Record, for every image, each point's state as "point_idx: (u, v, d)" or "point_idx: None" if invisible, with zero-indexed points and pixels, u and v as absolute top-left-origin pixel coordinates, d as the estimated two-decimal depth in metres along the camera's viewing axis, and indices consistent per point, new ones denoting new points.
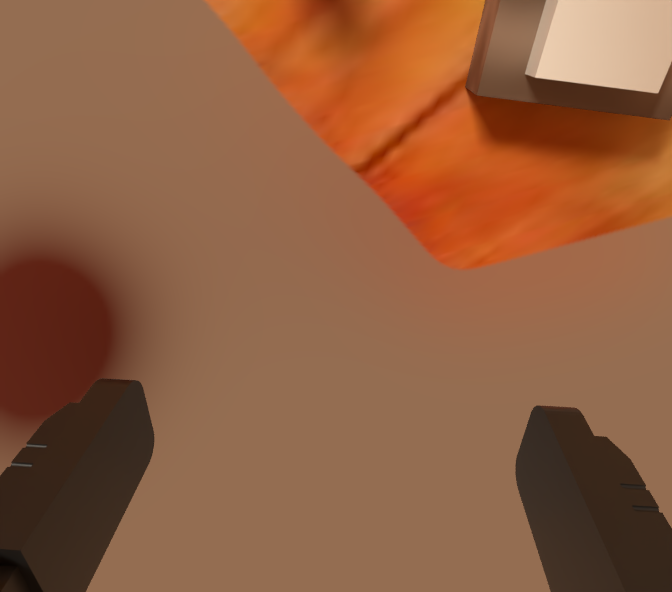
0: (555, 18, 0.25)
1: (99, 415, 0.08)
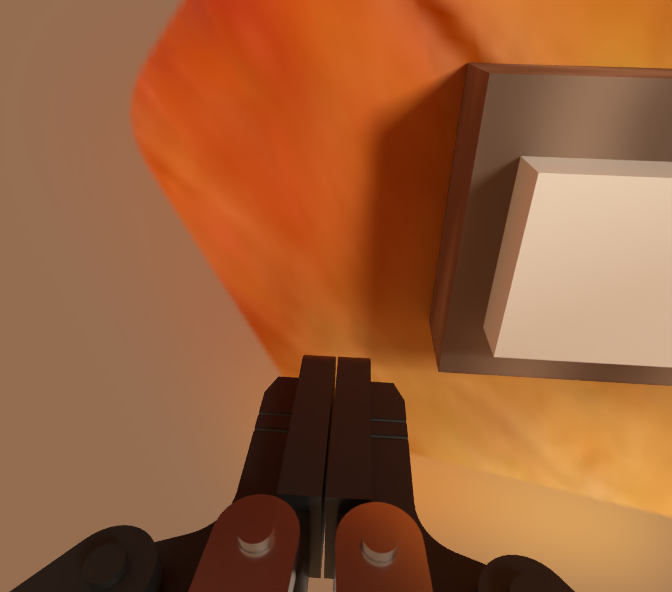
0: (635, 181, 0.14)
1: (323, 386, 0.09)
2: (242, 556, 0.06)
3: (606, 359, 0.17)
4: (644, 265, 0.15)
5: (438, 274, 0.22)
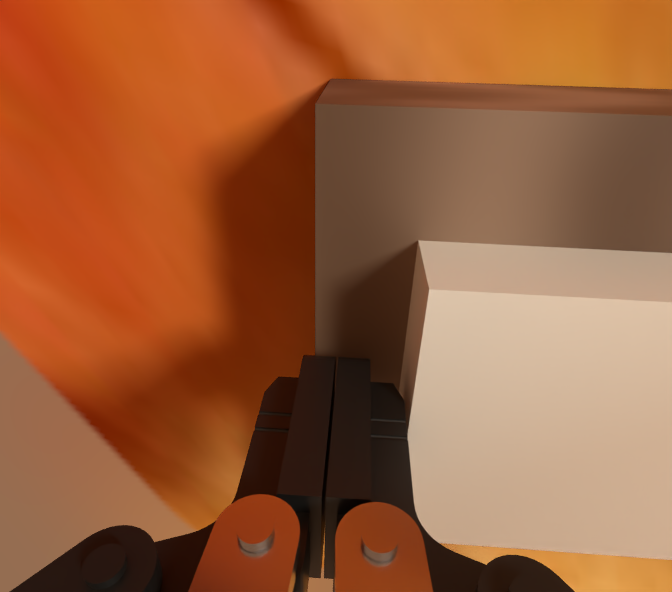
0: (603, 305, 0.08)
1: (323, 386, 0.09)
2: (242, 556, 0.06)
3: (565, 547, 0.11)
4: (621, 430, 0.09)
5: None
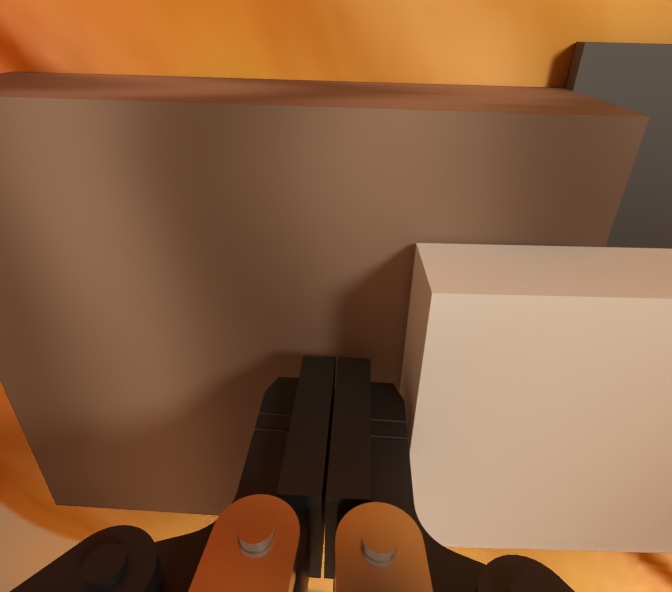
0: (606, 304, 0.08)
1: (323, 386, 0.09)
2: (242, 556, 0.06)
3: (570, 545, 0.11)
4: (625, 427, 0.09)
5: None
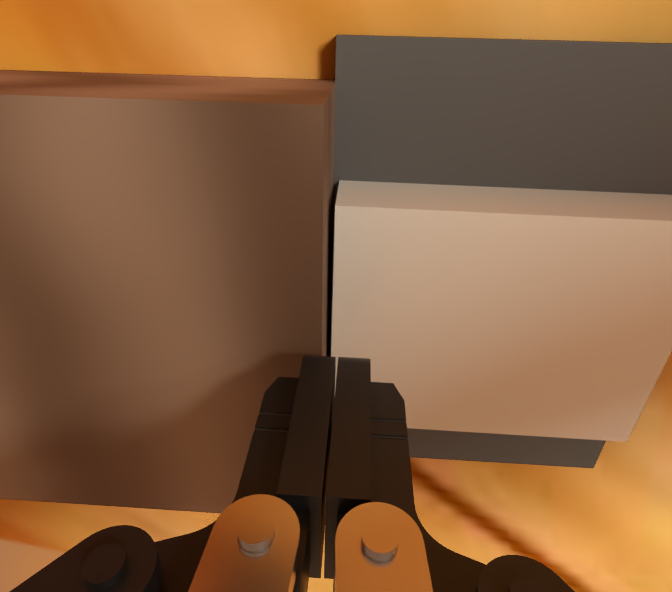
0: (459, 217, 0.11)
1: (323, 386, 0.09)
2: (242, 556, 0.06)
3: (464, 427, 0.14)
4: (489, 319, 0.12)
5: None
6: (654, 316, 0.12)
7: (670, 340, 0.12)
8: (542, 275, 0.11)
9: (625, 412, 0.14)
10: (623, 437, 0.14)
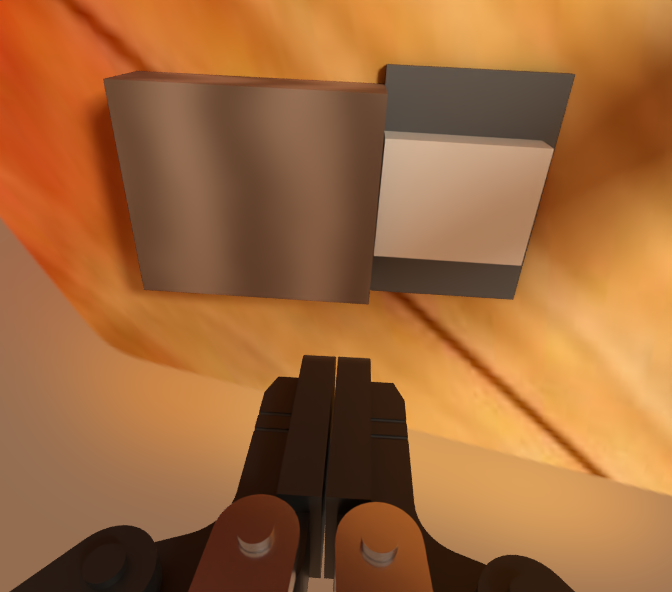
0: (438, 144, 0.25)
1: (323, 386, 0.09)
2: (242, 556, 0.06)
3: (441, 257, 0.29)
4: (452, 195, 0.27)
5: None
6: (526, 193, 0.26)
7: (534, 206, 0.27)
8: (475, 172, 0.26)
9: (518, 247, 0.28)
10: (519, 262, 0.28)
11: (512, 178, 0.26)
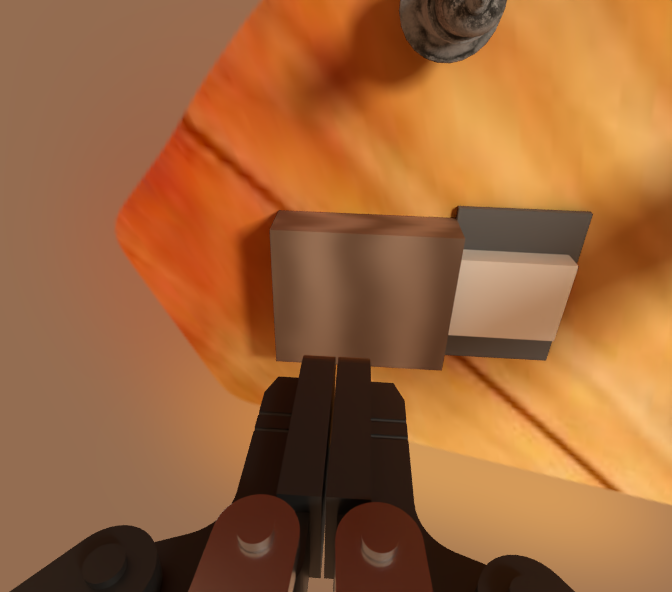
0: (496, 263, 0.36)
1: (323, 386, 0.09)
2: (242, 556, 0.06)
3: (494, 335, 0.39)
4: (504, 295, 0.37)
5: None
6: (558, 294, 0.37)
7: (564, 302, 0.37)
8: (522, 281, 0.36)
9: (552, 329, 0.38)
10: (552, 339, 0.39)
11: (548, 284, 0.36)
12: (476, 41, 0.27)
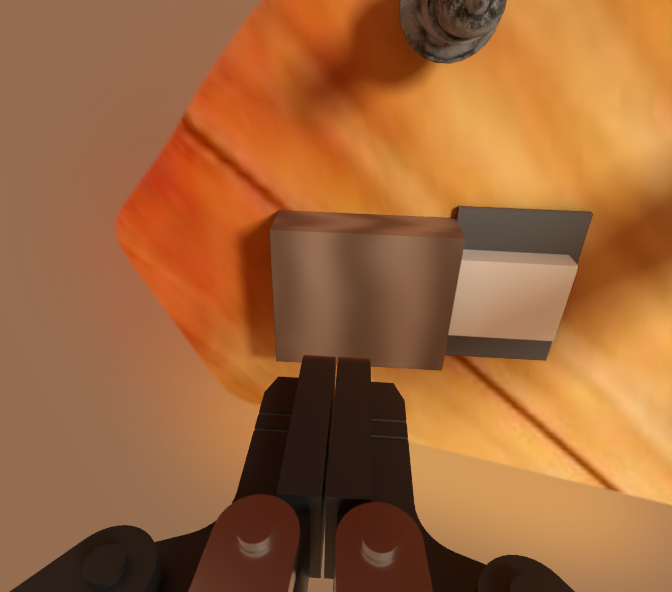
0: (496, 263, 0.36)
1: (323, 386, 0.09)
2: (242, 556, 0.06)
3: (494, 335, 0.39)
4: (504, 295, 0.37)
5: None
6: (558, 294, 0.37)
7: (564, 302, 0.37)
8: (522, 281, 0.36)
9: (552, 329, 0.38)
10: (552, 339, 0.39)
11: (548, 284, 0.36)
12: (476, 41, 0.27)
